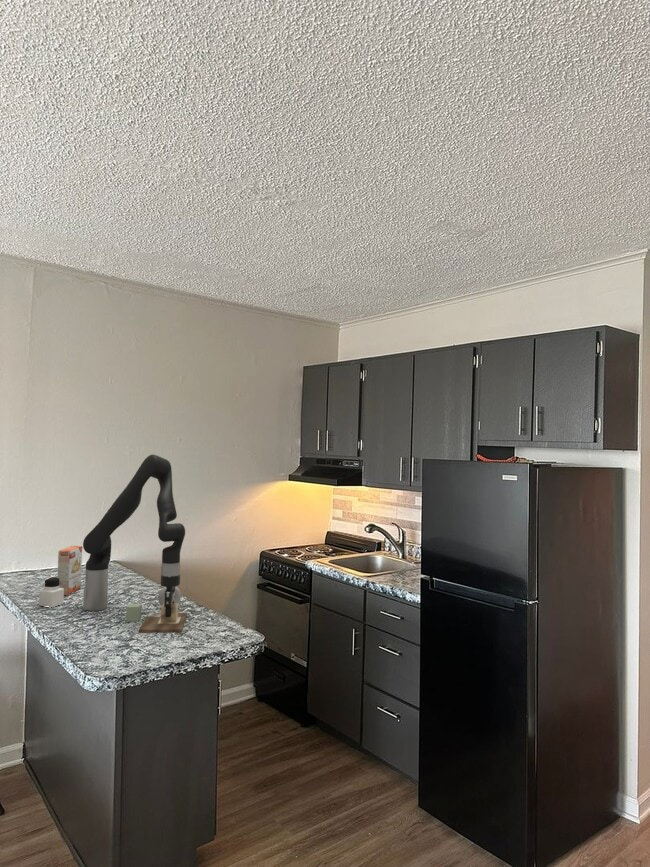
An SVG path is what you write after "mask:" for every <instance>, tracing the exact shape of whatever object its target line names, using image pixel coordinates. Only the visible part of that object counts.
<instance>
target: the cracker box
mask: <svg viewBox="0 0 650 867" xmlns="http://www.w3.org/2000/svg"><path fill="white" fill-rule="evenodd" d="M57 556H58V557H57V559H58V560H57V578H59V579H60V583H59V588H64V595H68V596H70V595H71V594H70V593H72V592H74V591H75V592H77V591H78V590H77V589H79V588H80V589H81V588H82V587H81V586H82V585H81V584H82V583H81V582H82V563H83V562H82V560H83V545H70V546H68V547H65V548H62V549H60V550H58V555H57ZM80 589H79V590H80ZM76 590H77V591H76ZM75 592H74V593H75ZM69 594H70V595H69ZM72 594H73V593H72Z"/></svg>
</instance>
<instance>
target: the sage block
mask: <svg viewBox="0 0 650 867" xmlns="http://www.w3.org/2000/svg"><path fill="white" fill-rule="evenodd" d="M125 612H126V615H125V622H126V623H127V622H128V623H129V621H130V623H131V622H133V623H135V622H136V623H137V622H140V621H141V619H142V603H128V604H127V606H126V611H125Z"/></svg>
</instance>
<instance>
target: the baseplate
mask: <svg viewBox="0 0 650 867" xmlns="http://www.w3.org/2000/svg"><path fill="white" fill-rule="evenodd" d="M187 617H188V612H178V619H177V621H176V622H172V623H161V612H148V613H147V615H146V616H145V618H144V620H143V622H142V623H141V625H140V627H139V629H138V634H140V633H141V634H143V633H144V634H149V633H150V634H151V633H152V634H153V633H155V634H157V633H159V634H160V633H161V634H163V633H182V632H183V629H184V627H183V626H185V624H186V621H187ZM184 623H185V624H184Z"/></svg>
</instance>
